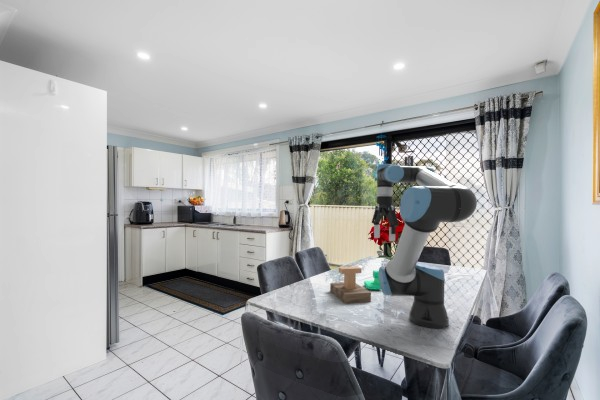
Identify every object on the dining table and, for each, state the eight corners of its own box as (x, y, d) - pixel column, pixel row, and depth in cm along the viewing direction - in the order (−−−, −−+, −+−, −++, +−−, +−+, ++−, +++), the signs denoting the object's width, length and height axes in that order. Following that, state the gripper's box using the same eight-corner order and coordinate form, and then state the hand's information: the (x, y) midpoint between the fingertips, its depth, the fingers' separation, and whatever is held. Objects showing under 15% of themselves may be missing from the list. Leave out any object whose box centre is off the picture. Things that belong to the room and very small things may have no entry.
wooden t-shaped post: (360, 296, 150) (361, 268, 150) (341, 298, 147) (342, 269, 147) (357, 294, 154) (357, 266, 155) (338, 295, 151) (338, 267, 152)
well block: (370, 301, 143) (370, 292, 143) (345, 303, 139) (345, 294, 139) (353, 289, 162) (353, 281, 162) (330, 291, 159) (330, 283, 159)
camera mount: (363, 285, 173) (364, 268, 173) (376, 285, 173) (376, 268, 173) (368, 291, 161) (369, 272, 161) (382, 291, 161) (382, 273, 161)
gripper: (407, 195, 129) (406, 242, 129) (378, 196, 153) (377, 236, 153) (392, 195, 127) (392, 242, 127) (365, 196, 151) (364, 236, 151)
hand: (384, 239), depth 140 cm, fingers open, 13 cm apart
